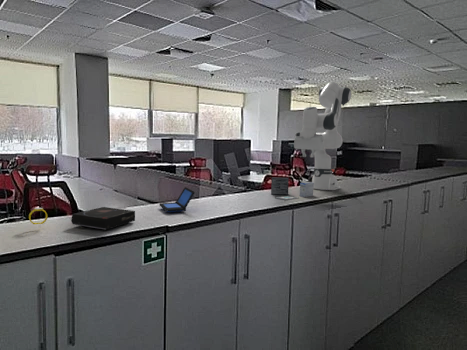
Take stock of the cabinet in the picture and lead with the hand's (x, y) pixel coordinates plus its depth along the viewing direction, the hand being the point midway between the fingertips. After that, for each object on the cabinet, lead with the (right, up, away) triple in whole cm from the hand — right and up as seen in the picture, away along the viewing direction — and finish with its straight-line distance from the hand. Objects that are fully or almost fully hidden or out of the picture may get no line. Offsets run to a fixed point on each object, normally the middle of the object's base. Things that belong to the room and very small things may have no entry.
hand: (308, 157), depth 216 cm
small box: (-16, -23, +8) cm, 29 cm away
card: (-14, -25, -7) cm, 29 cm away
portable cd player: (-96, -30, -75) cm, 125 cm away
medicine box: (0, -24, +3) cm, 24 cm away
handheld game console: (-72, -27, -44) cm, 89 cm away
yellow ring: (-118, -29, -82) cm, 147 cm away
